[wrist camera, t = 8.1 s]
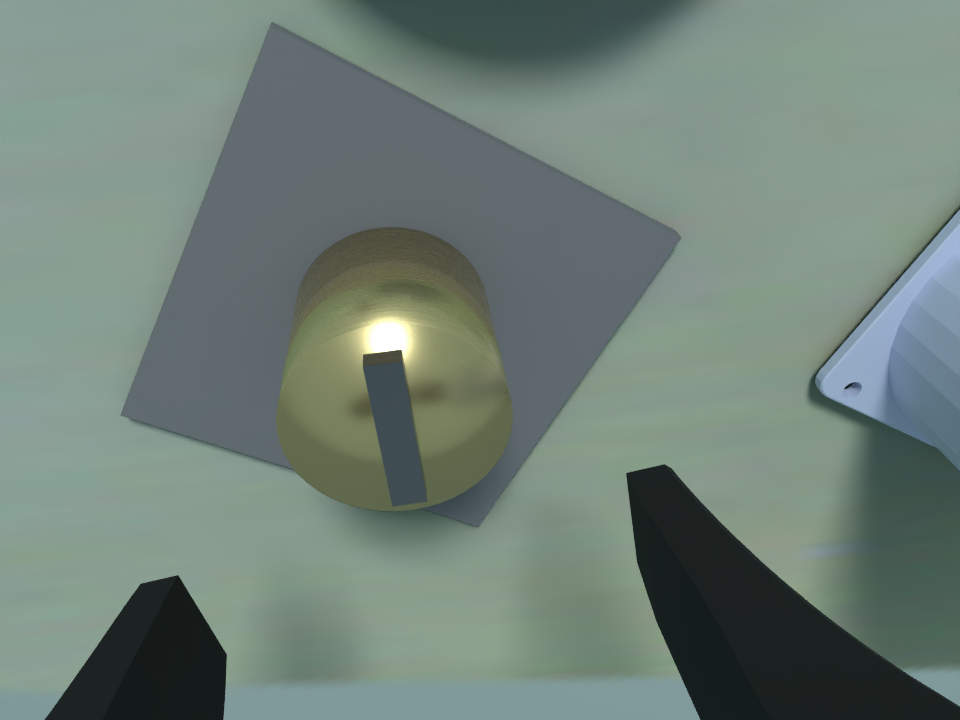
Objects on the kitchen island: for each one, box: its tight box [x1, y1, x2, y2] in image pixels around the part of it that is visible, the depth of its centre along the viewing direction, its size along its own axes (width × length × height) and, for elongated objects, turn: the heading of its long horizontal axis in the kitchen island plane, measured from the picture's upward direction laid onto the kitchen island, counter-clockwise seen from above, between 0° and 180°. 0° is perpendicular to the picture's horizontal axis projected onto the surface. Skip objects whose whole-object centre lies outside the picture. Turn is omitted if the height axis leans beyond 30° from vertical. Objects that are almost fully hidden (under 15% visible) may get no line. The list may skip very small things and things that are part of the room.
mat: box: [121, 22, 681, 527], centre depth 19 cm, size 10×10×1 cm
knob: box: [276, 227, 513, 511], centre depth 17 cm, size 4×4×5 cm
